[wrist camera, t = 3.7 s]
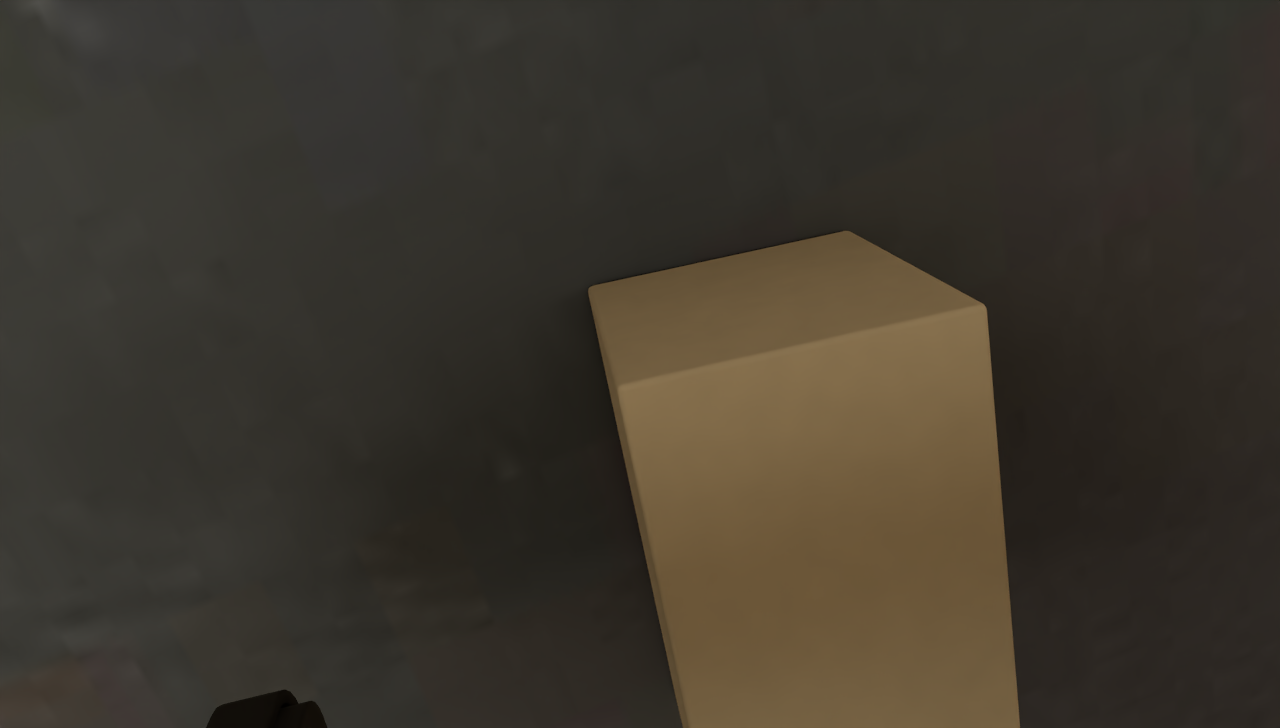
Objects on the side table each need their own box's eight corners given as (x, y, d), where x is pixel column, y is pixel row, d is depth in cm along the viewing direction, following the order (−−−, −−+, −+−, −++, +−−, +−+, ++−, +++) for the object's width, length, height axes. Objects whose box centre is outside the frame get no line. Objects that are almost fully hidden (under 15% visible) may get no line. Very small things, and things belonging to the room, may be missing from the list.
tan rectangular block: (586, 285, 13) (615, 386, 9) (848, 228, 13) (988, 303, 9) (676, 700, 15) (731, 926, 11) (901, 645, 15) (1032, 850, 11)
